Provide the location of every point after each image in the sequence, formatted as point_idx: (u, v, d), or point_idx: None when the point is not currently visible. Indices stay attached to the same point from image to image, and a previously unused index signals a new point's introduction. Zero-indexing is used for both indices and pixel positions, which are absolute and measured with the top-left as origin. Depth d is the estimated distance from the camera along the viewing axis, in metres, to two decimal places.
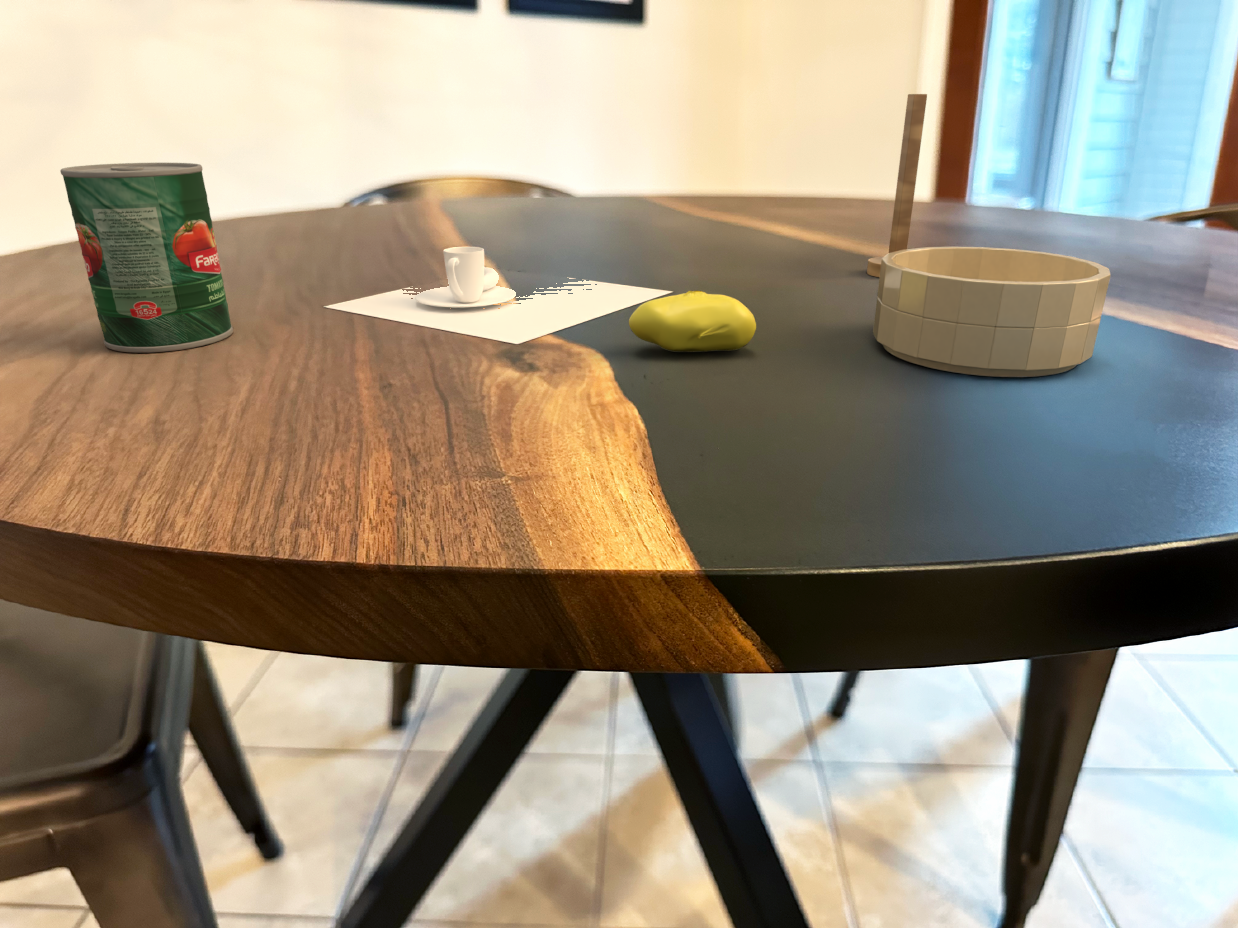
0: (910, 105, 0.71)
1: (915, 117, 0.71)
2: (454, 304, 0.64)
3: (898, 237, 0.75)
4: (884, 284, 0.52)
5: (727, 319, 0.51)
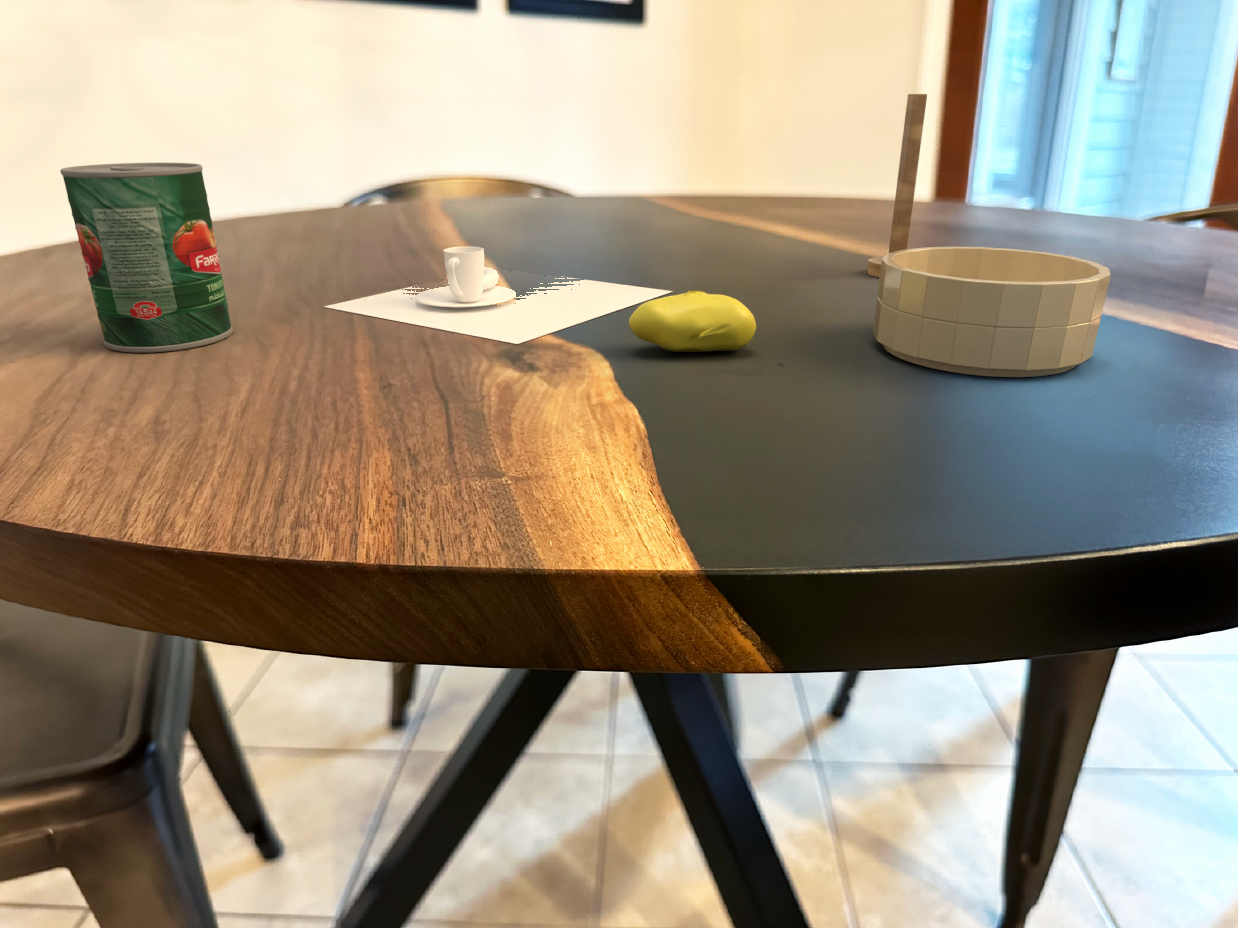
0: (910, 105, 0.71)
1: (915, 117, 0.71)
2: (454, 304, 0.64)
3: (898, 237, 0.75)
4: (884, 284, 0.52)
5: (727, 319, 0.51)
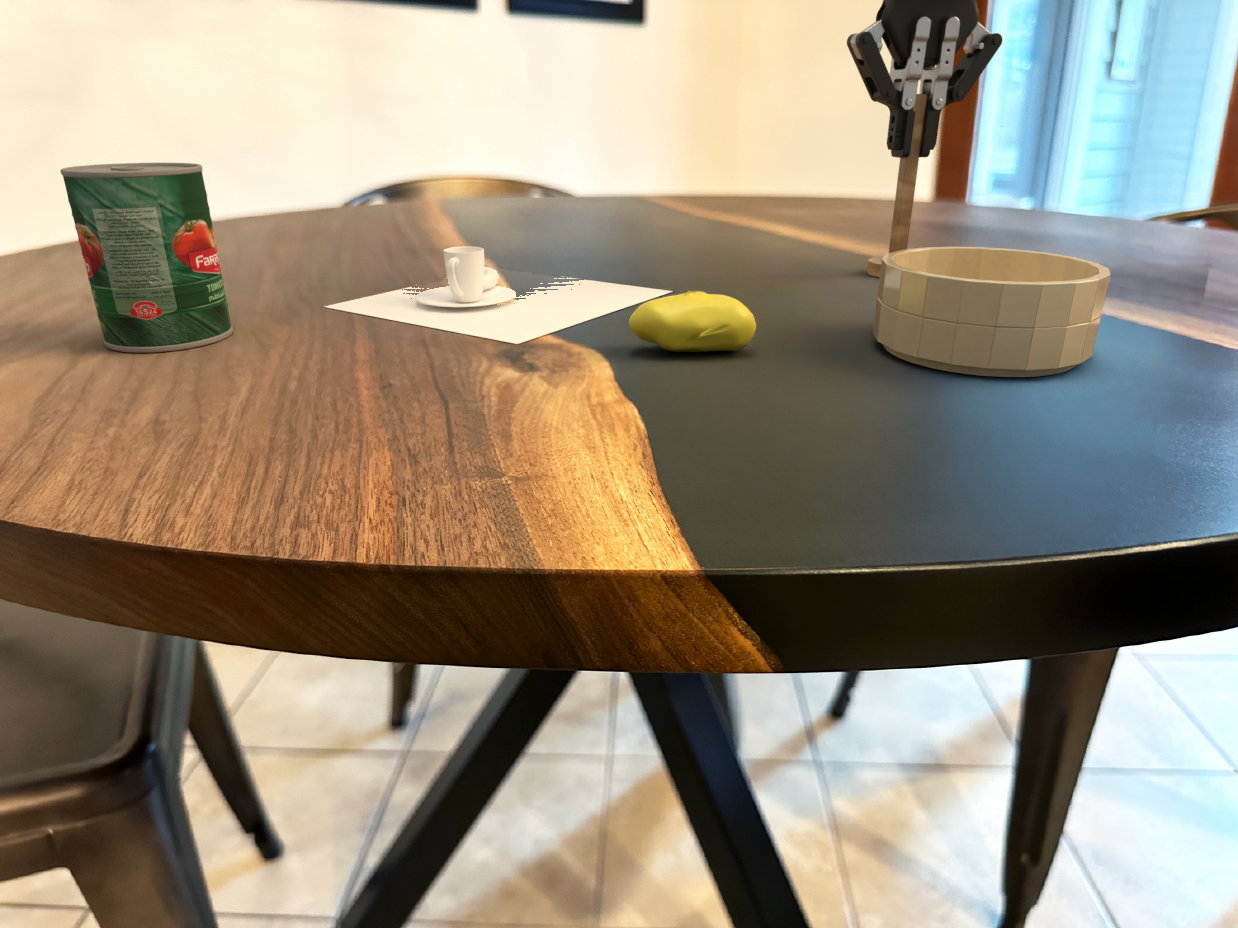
0: None
1: (915, 117, 0.71)
2: (454, 304, 0.64)
3: (898, 237, 0.75)
4: (884, 284, 0.52)
5: (727, 319, 0.51)
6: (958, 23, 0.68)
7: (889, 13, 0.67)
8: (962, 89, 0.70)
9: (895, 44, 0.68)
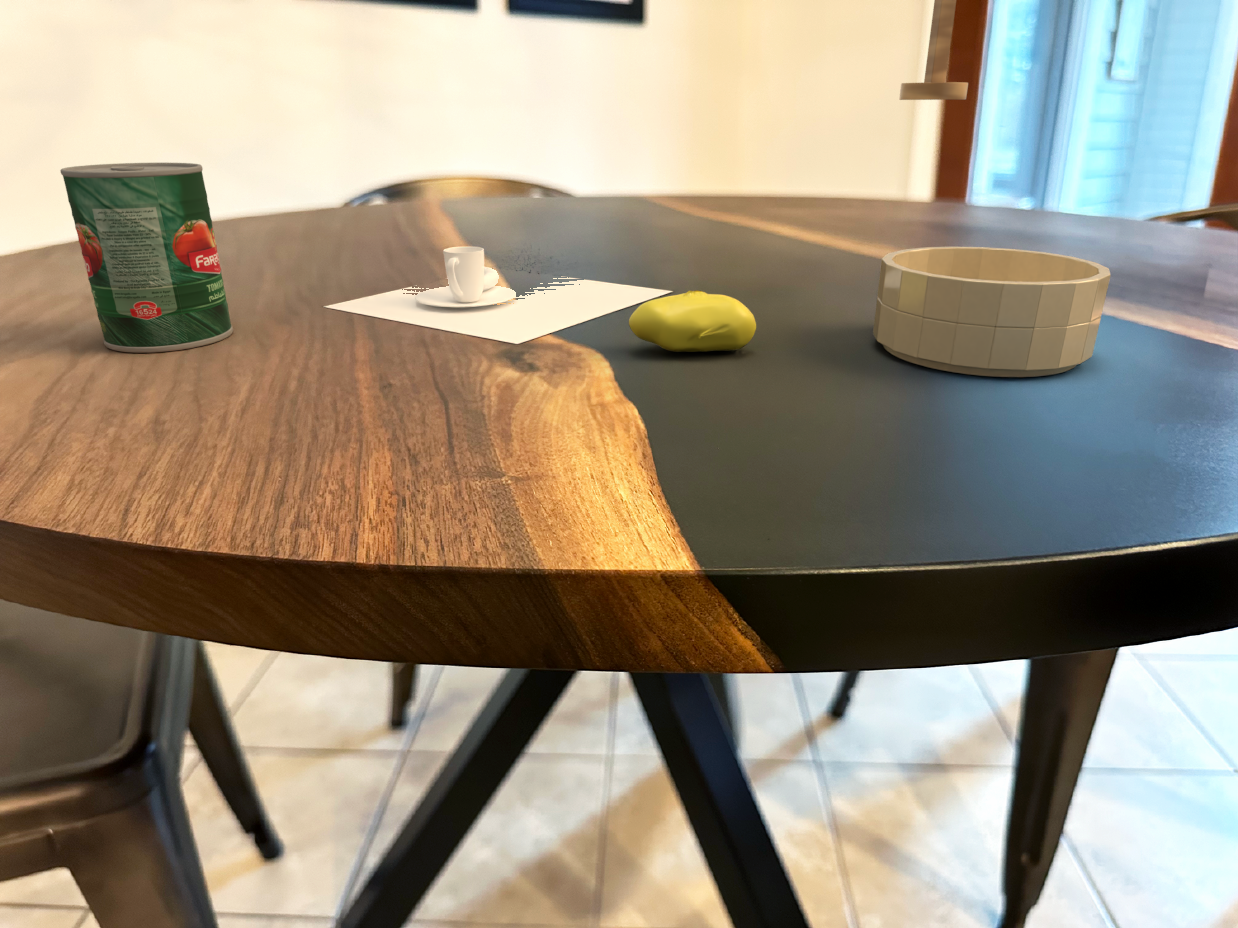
0: None
1: None
2: (454, 304, 0.64)
3: (936, 52, 0.64)
4: (884, 284, 0.52)
5: (727, 319, 0.51)
6: None
7: None
8: None
9: None
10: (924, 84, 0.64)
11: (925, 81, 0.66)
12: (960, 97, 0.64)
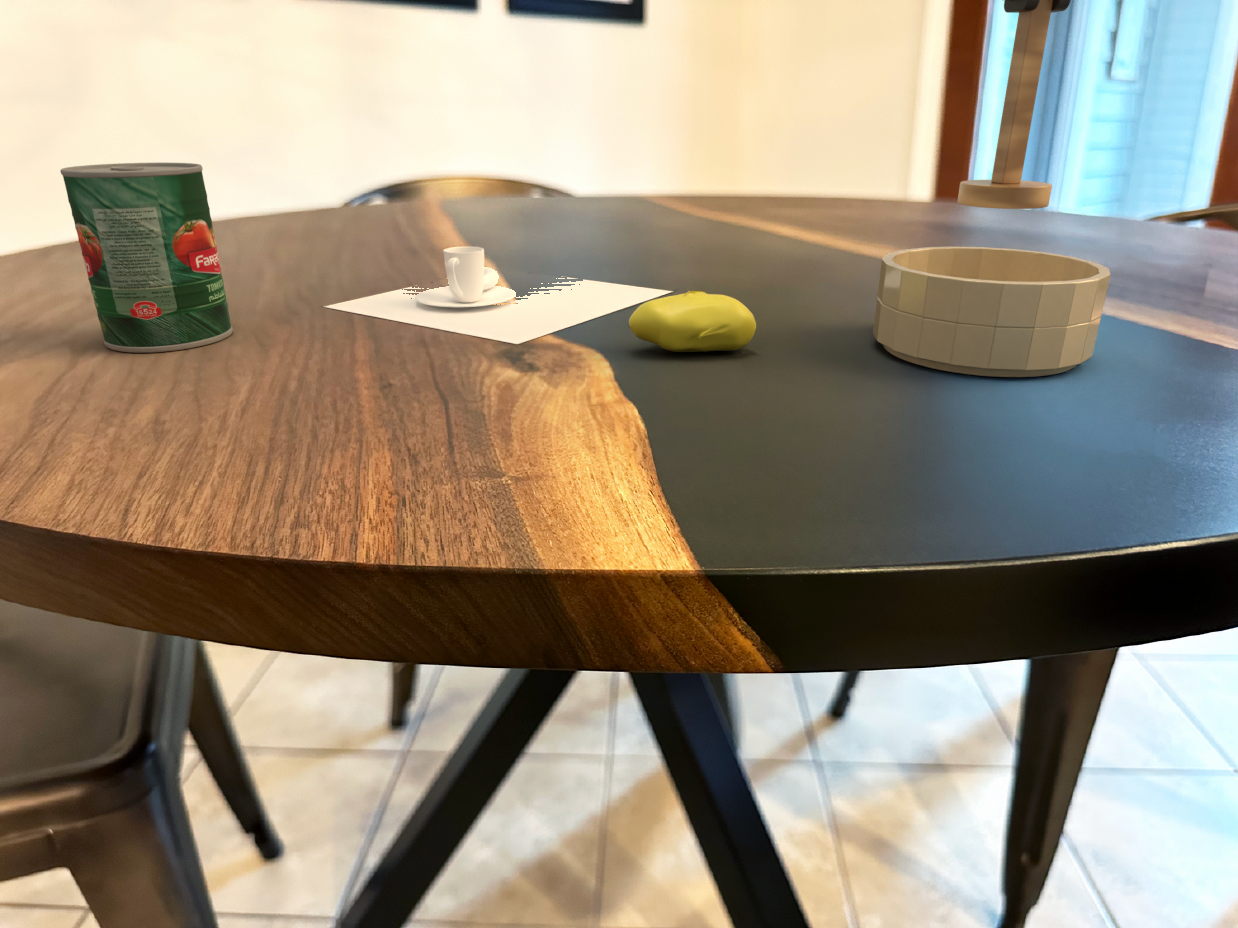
0: None
1: None
2: (454, 304, 0.64)
3: (1011, 144, 0.48)
4: (884, 284, 0.52)
5: (727, 319, 0.51)
6: None
7: None
8: None
9: None
10: (995, 188, 0.48)
11: (993, 180, 0.50)
12: (1042, 205, 0.48)
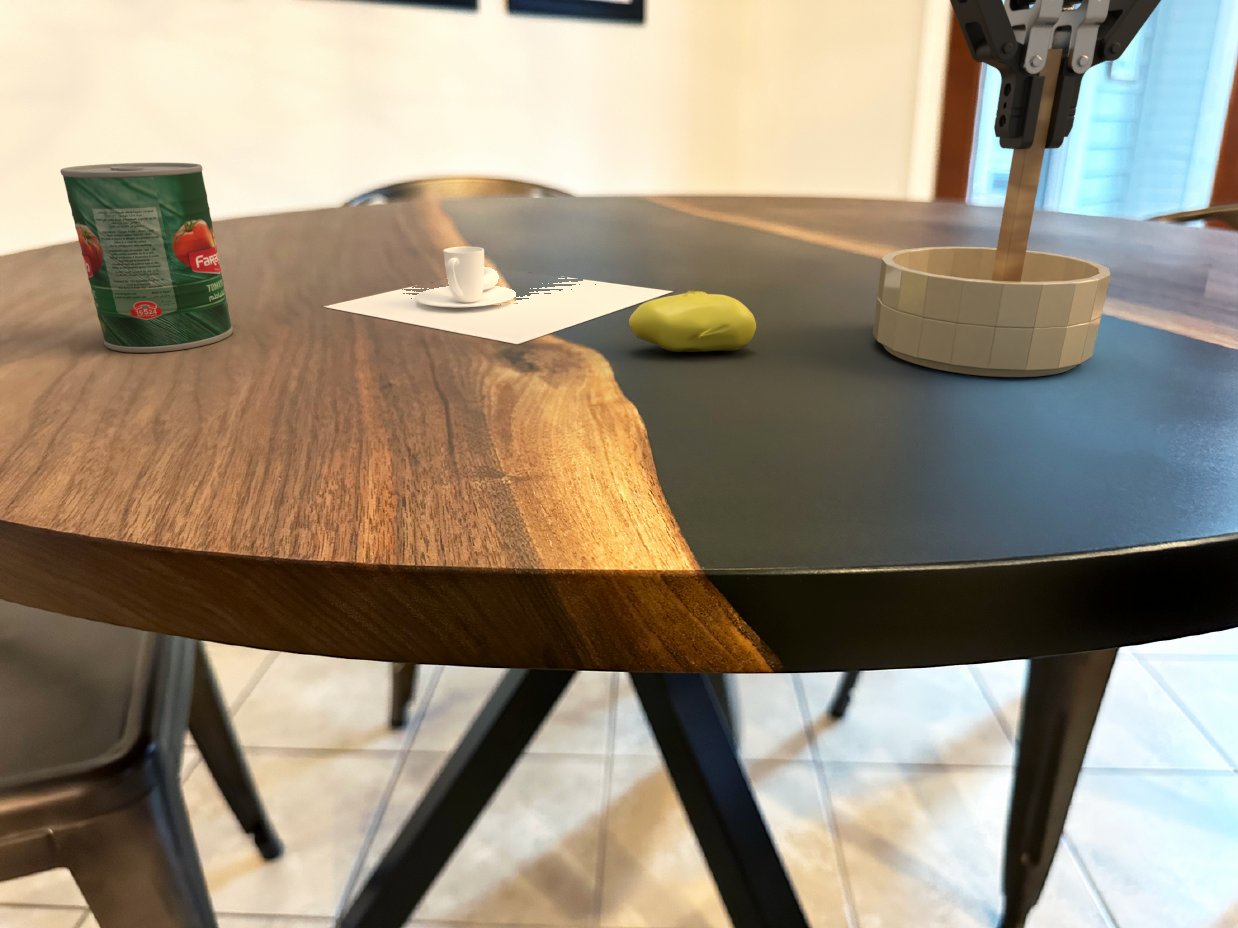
0: None
1: None
2: (454, 304, 0.64)
3: (1007, 271, 0.50)
4: (884, 284, 0.52)
5: (727, 319, 0.51)
6: None
7: None
8: (1119, 40, 0.45)
9: None
10: None
11: None
12: None
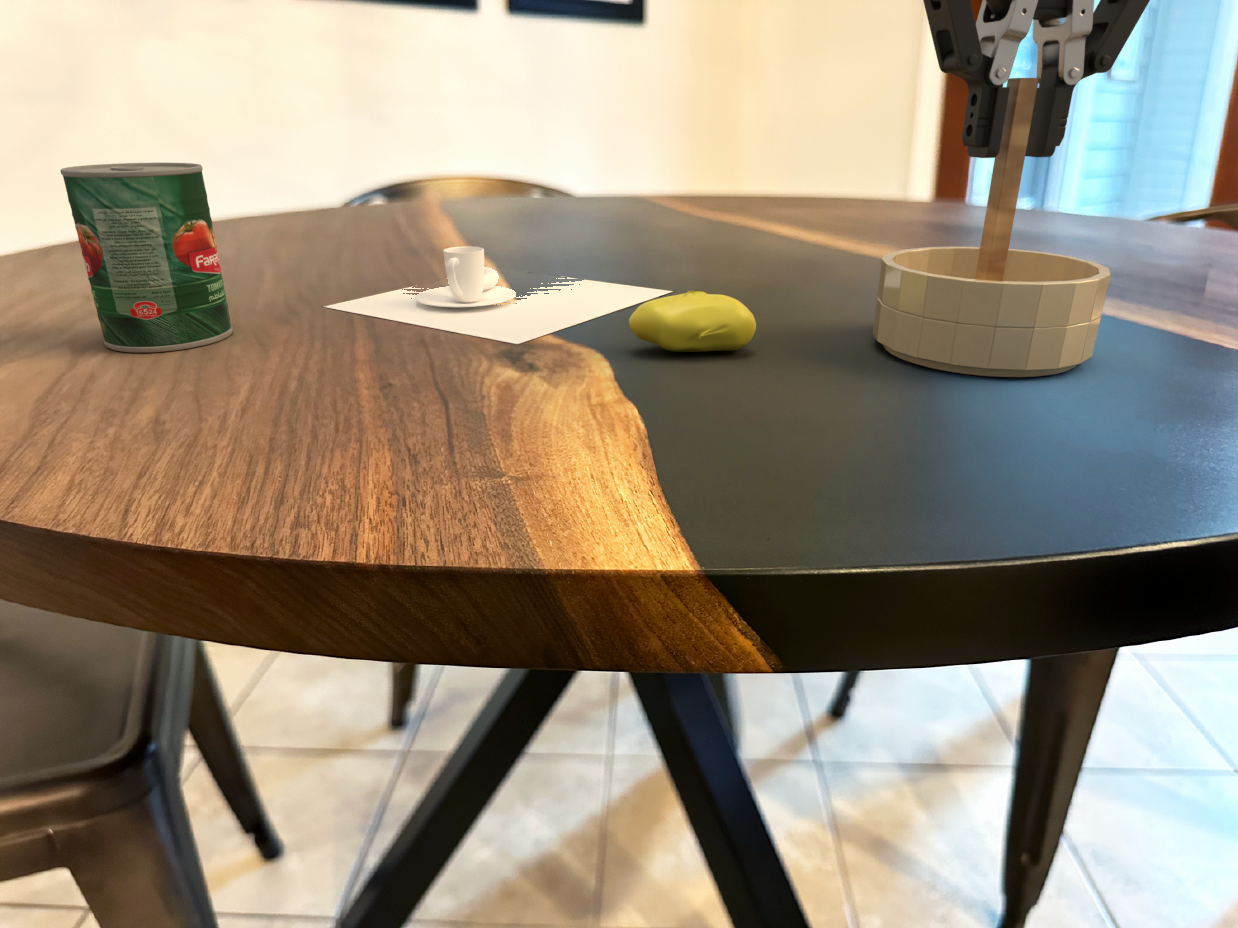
0: (1012, 95, 0.47)
1: (1019, 113, 0.47)
2: (454, 304, 0.64)
3: None
4: (884, 284, 0.52)
5: (727, 319, 0.51)
6: None
7: None
8: (1108, 53, 0.46)
9: None
10: None
11: None
12: None
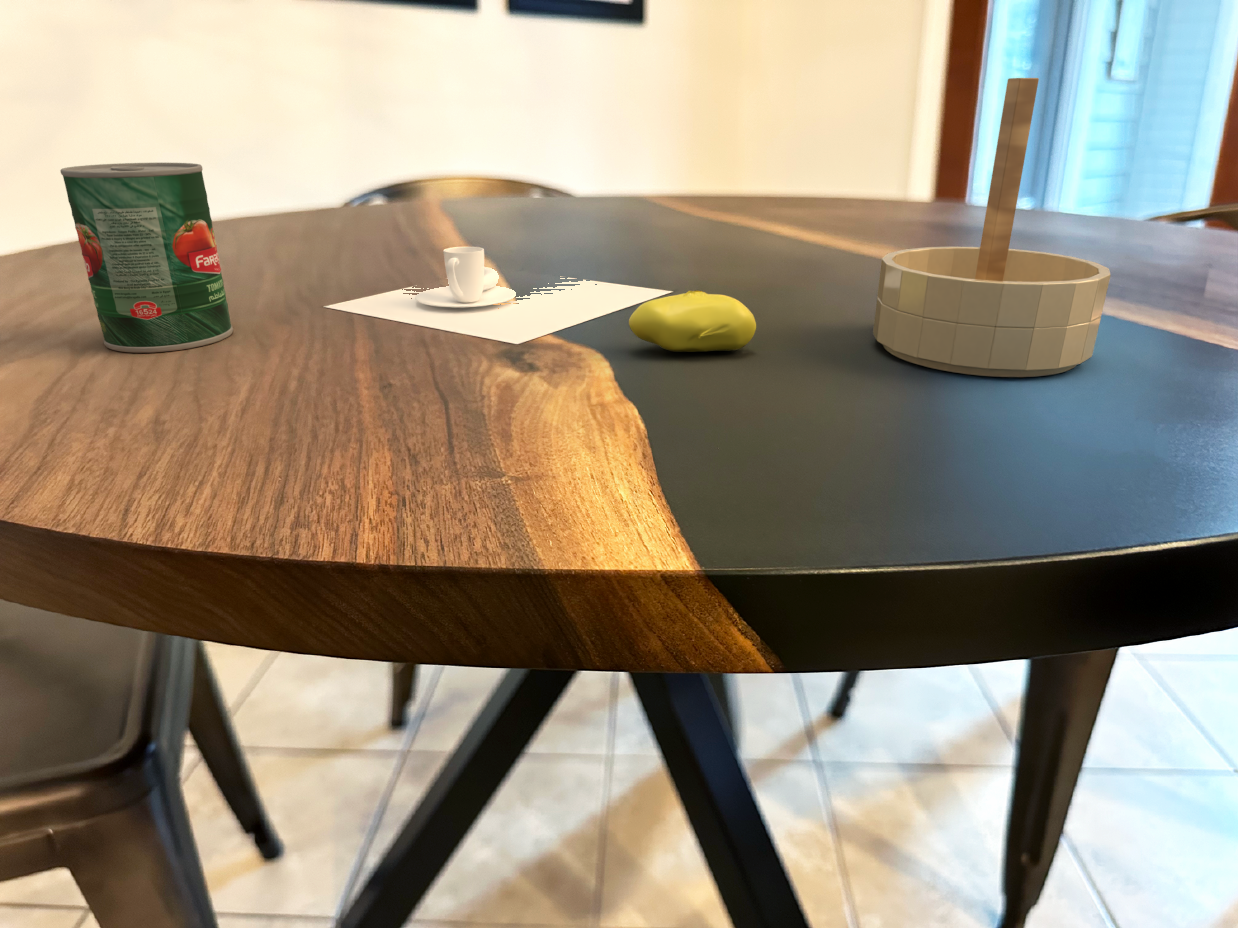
0: (1012, 95, 0.47)
1: (1019, 113, 0.47)
2: (454, 304, 0.64)
3: None
4: (884, 284, 0.52)
5: (727, 319, 0.51)
6: None
7: None
8: None
9: None
10: None
11: None
12: None
